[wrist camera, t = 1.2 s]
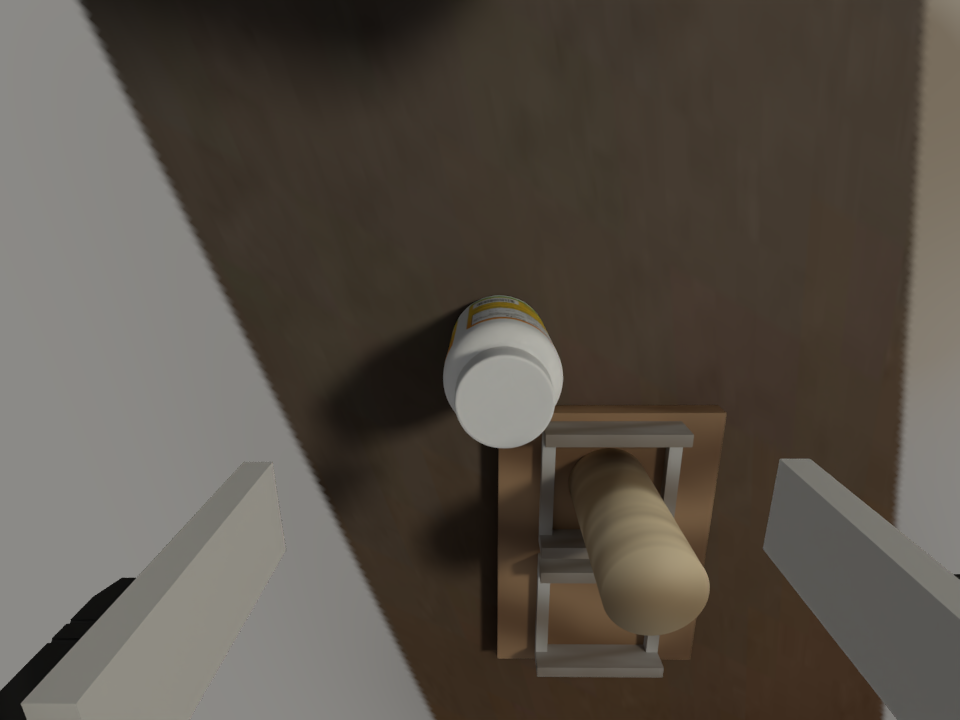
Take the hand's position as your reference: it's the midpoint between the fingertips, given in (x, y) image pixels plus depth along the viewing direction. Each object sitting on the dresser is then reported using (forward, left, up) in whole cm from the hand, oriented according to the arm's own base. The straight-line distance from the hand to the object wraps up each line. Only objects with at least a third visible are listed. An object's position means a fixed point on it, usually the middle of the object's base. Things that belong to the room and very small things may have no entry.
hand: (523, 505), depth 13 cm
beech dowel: (+8, +6, -15) cm, 19 cm away
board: (+13, +6, -17) cm, 22 cm away
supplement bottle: (0, 0, -17) cm, 17 cm away
